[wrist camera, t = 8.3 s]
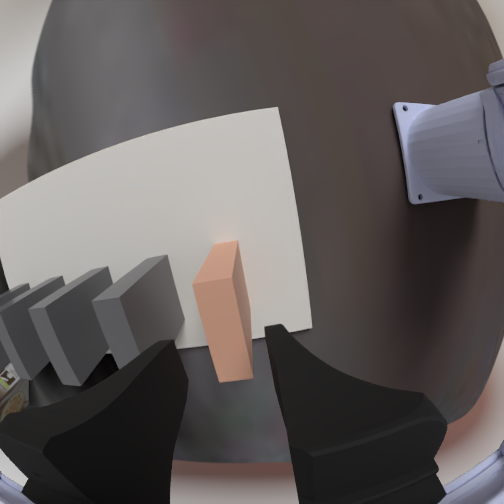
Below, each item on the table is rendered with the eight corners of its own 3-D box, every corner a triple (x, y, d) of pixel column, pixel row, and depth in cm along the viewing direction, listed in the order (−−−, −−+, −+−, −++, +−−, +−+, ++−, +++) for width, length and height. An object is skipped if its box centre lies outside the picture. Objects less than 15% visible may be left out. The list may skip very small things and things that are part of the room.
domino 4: (167, 254, 19) (119, 297, 11) (185, 319, 20) (155, 387, 12) (147, 258, 19) (91, 301, 11) (165, 321, 20) (128, 388, 12)
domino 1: (28, 282, 19) (-29, 315, 11) (46, 331, 20) (-2, 373, 12) (19, 284, 19) (-36, 315, 11) (37, 331, 20) (-10, 371, 12)
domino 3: (108, 266, 19) (44, 307, 11) (127, 325, 20) (81, 386, 12) (92, 269, 19) (27, 309, 11) (111, 327, 20) (63, 384, 12)
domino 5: (237, 239, 18) (231, 277, 11) (250, 308, 20) (253, 378, 12) (214, 244, 18) (191, 283, 11) (228, 311, 20) (219, 382, 12)
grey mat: (276, 109, 17) (277, 107, 16) (310, 324, 20) (312, 327, 20) (-7, 204, 17) (-10, 205, 17) (37, 350, 21) (35, 352, 21)
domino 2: (62, 275, 19) (-1, 312, 11) (81, 329, 20) (31, 380, 12) (50, 278, 19) (-11, 313, 11) (69, 330, 20) (19, 378, 12)
